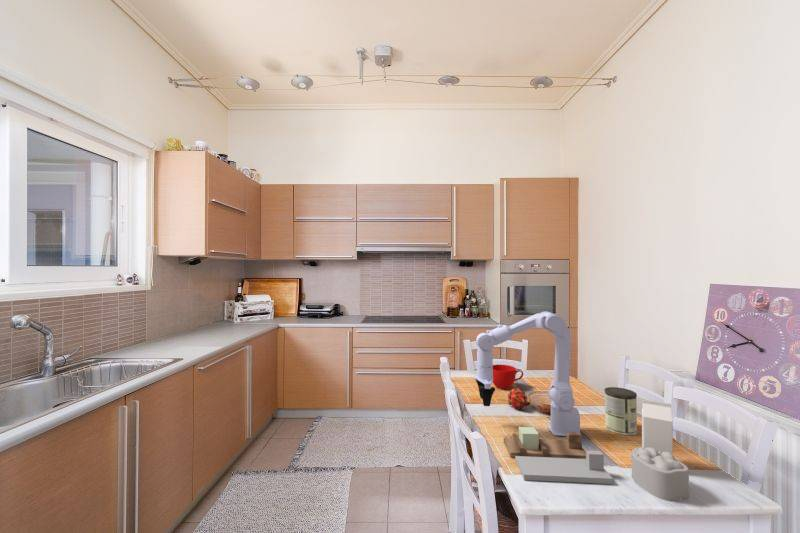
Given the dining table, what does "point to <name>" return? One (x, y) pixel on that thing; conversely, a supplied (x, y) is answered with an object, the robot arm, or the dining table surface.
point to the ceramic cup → (504, 376)
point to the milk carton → (657, 426)
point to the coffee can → (620, 410)
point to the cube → (529, 438)
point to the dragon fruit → (517, 399)
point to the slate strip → (565, 469)
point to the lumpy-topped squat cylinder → (660, 474)
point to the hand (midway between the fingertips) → (485, 402)
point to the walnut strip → (549, 447)
